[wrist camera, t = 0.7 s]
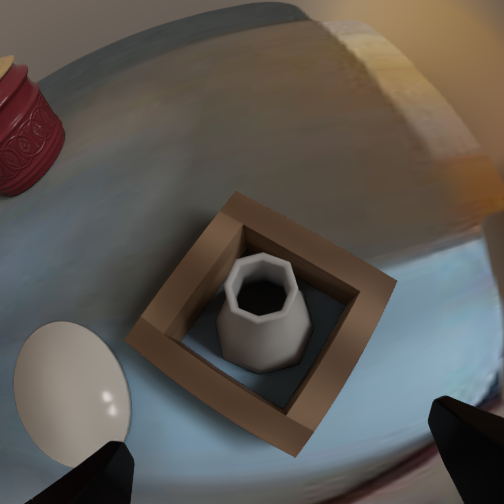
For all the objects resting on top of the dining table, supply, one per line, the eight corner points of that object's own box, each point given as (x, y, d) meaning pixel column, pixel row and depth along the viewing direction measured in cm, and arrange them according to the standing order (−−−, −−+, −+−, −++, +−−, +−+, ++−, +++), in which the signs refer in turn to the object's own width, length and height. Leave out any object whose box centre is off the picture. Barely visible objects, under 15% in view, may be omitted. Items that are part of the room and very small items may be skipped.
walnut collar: (290, 443, 18) (295, 457, 15) (146, 346, 22) (124, 339, 18) (378, 296, 22) (397, 281, 19) (240, 217, 26) (235, 191, 22)
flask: (210, 369, 21) (167, 362, 12) (220, 276, 24) (191, 210, 15) (310, 376, 20) (343, 375, 11) (314, 281, 23) (341, 216, 14)
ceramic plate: (88, 493, 16) (84, 495, 16) (3, 393, 20) (-2, 393, 19) (162, 390, 20) (158, 390, 20) (60, 295, 24) (55, 292, 23)
